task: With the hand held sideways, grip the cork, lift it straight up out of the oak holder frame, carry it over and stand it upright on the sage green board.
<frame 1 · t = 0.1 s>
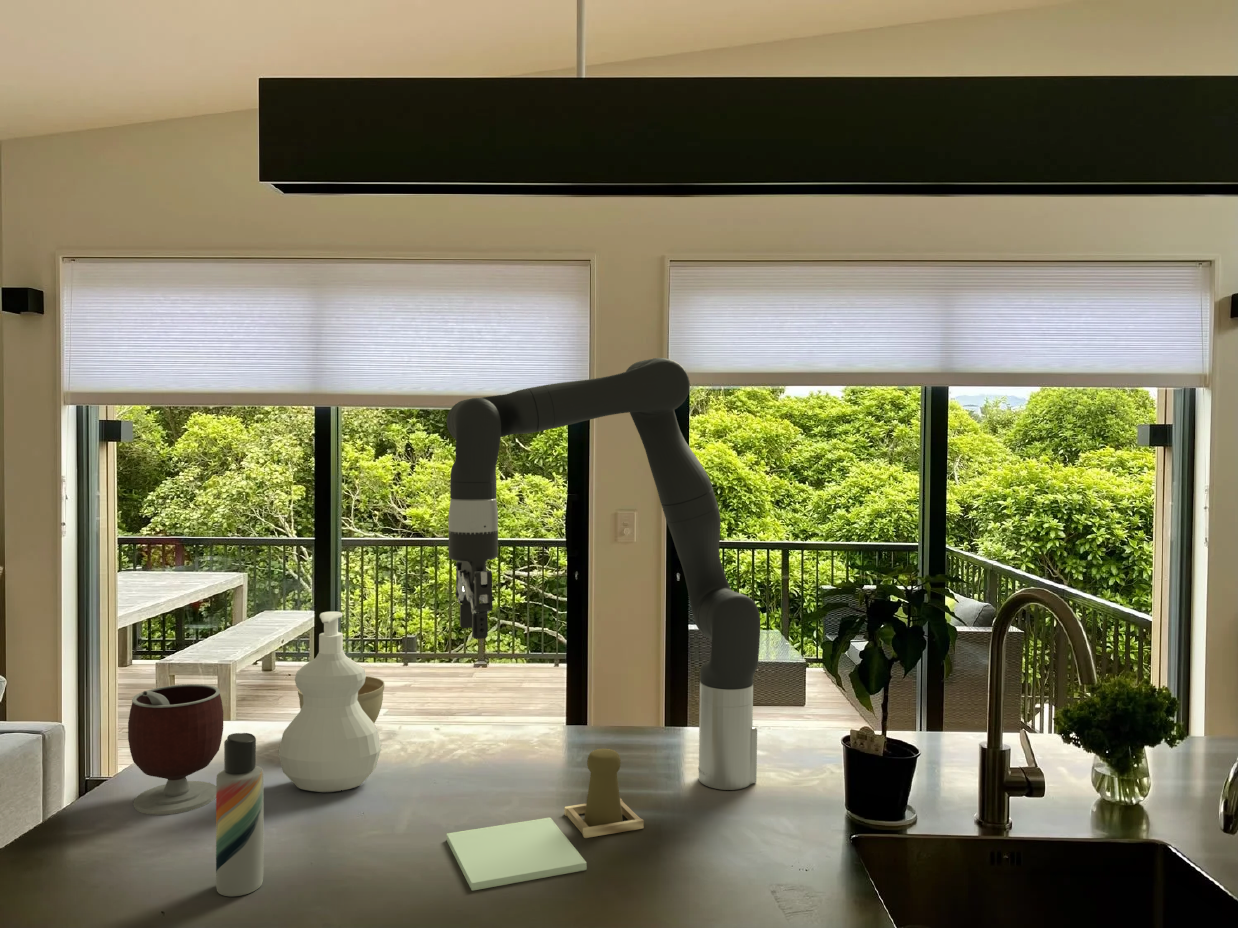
hand: (473, 632, 139), 29 cm above the kitchen counter, tool pointing down, fingers open, 8 cm apart
planter bowl: (341, 741, 176), on the kitchen counter
oak holder frame: (603, 820, 140), on the kitchen counter
sage board: (514, 854, 128), on the kitchen counter
cork: (603, 822, 140), resting in oak holder frame
lotion bottle: (239, 887, 118), on the kitchen counter
soap bottle: (330, 786, 153), on the kitchen counter
mate gourd: (173, 802, 146), on the kitchen counter
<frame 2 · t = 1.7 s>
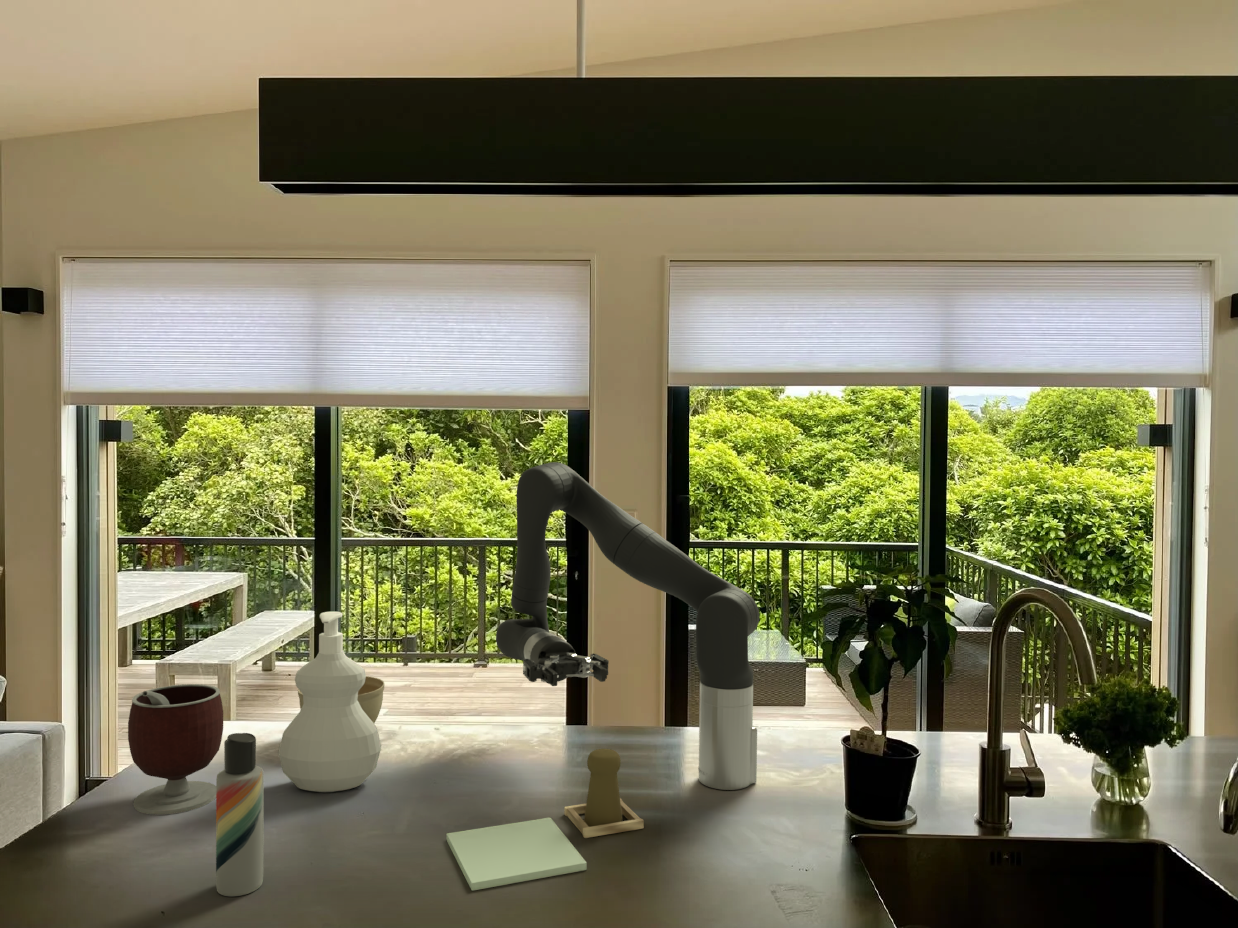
hand: (579, 677, 150), 20 cm above the kitchen counter, tool horizontal, fingers open, 8 cm apart
nothing on the kitchen counter moved.
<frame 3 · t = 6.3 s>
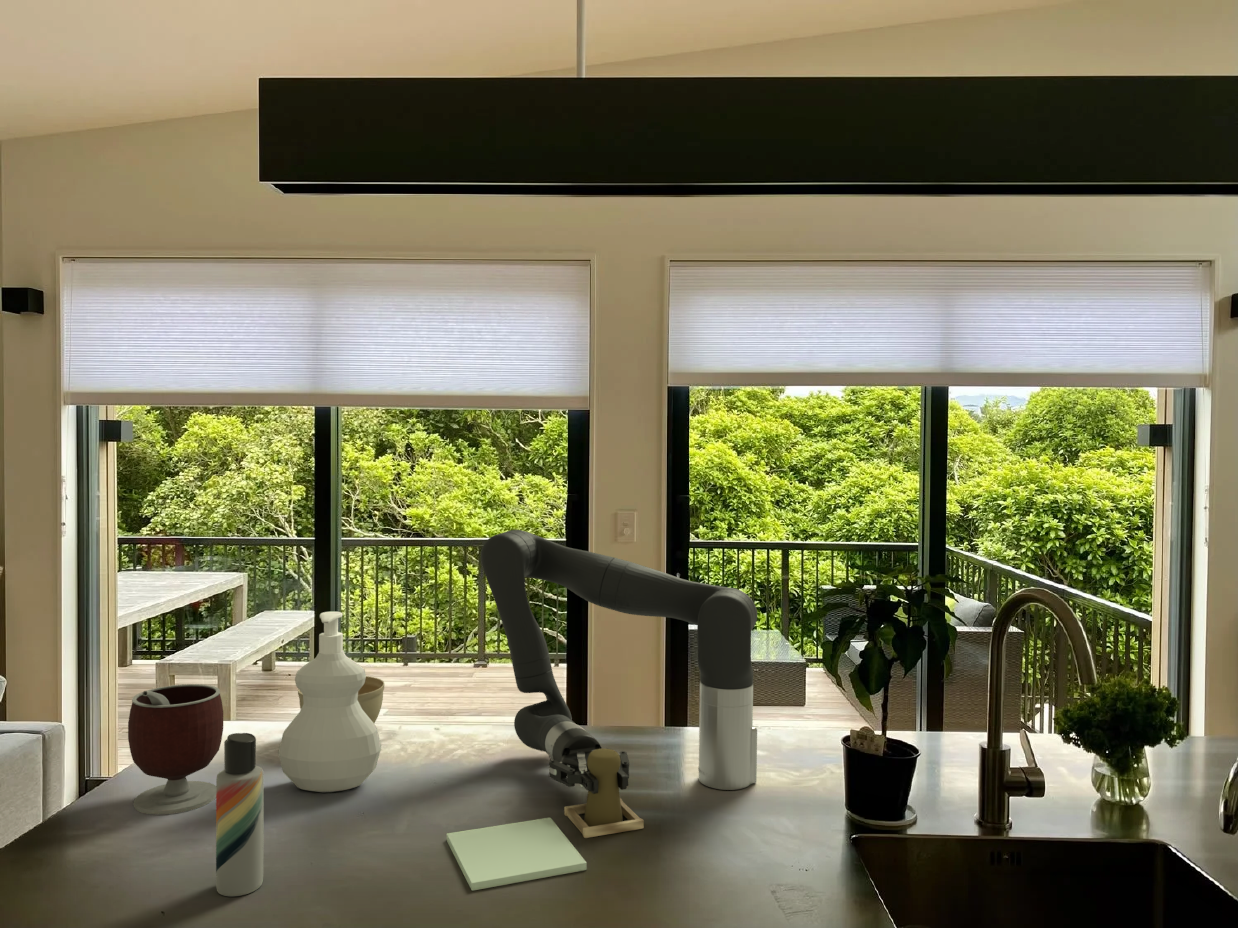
hand: (610, 784, 137), 7 cm above the kitchen counter, tool horizontal, fingers closed on cork, 4 cm apart
cork: (603, 822, 140), resting in oak holder frame, touching gripper
everything else where it was.
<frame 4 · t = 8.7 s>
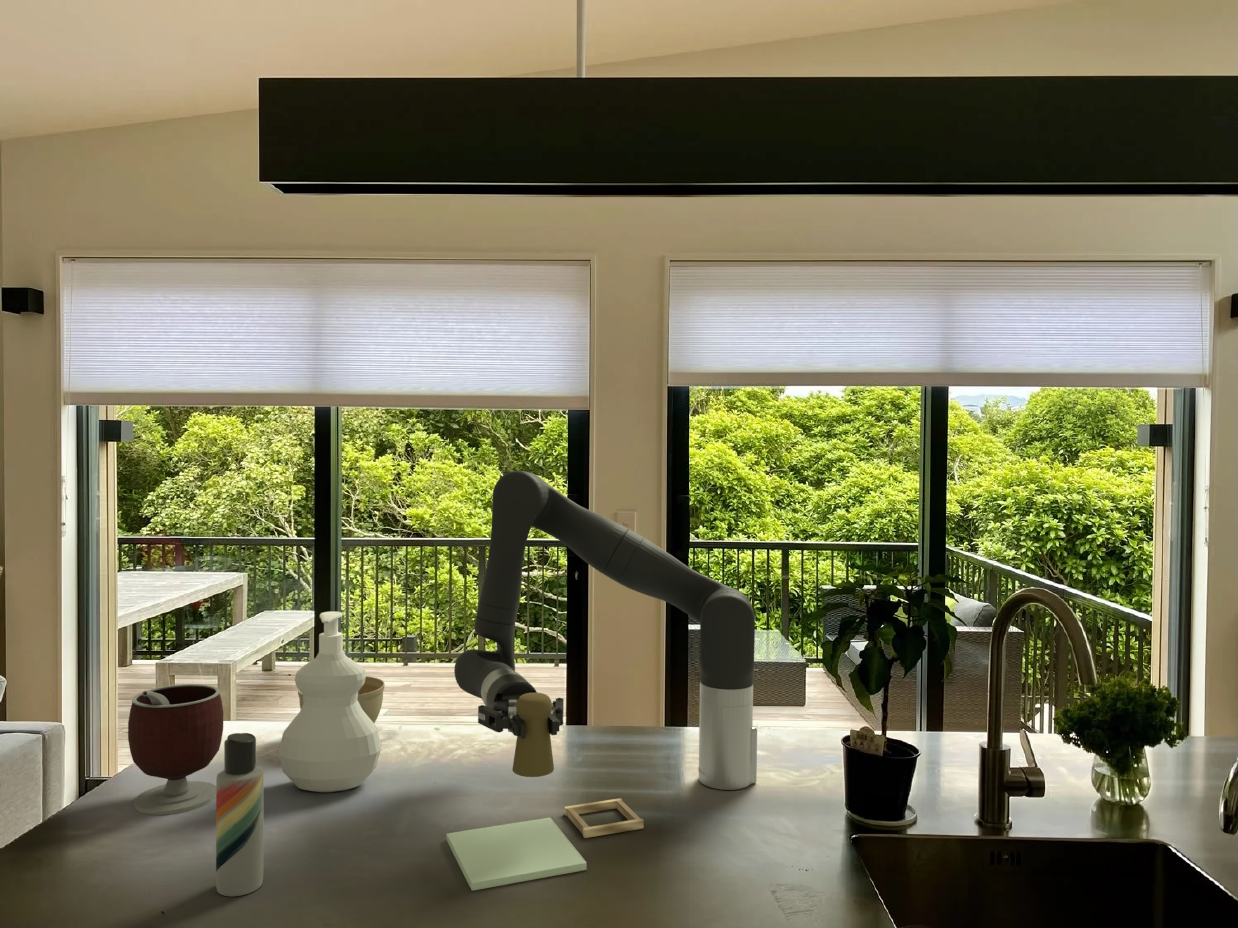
hand: (539, 729, 128), 18 cm above the kitchen counter, tool horizontal, fingers closed on cork, 4 cm apart
cork: (533, 770, 131), point 11 cm above the kitchen counter, touching gripper
everything else where it was.
when the fingers open (9 cm above the kitchen counter, at t = 11.6 s): cork moves 2 cm, resting on sage board.
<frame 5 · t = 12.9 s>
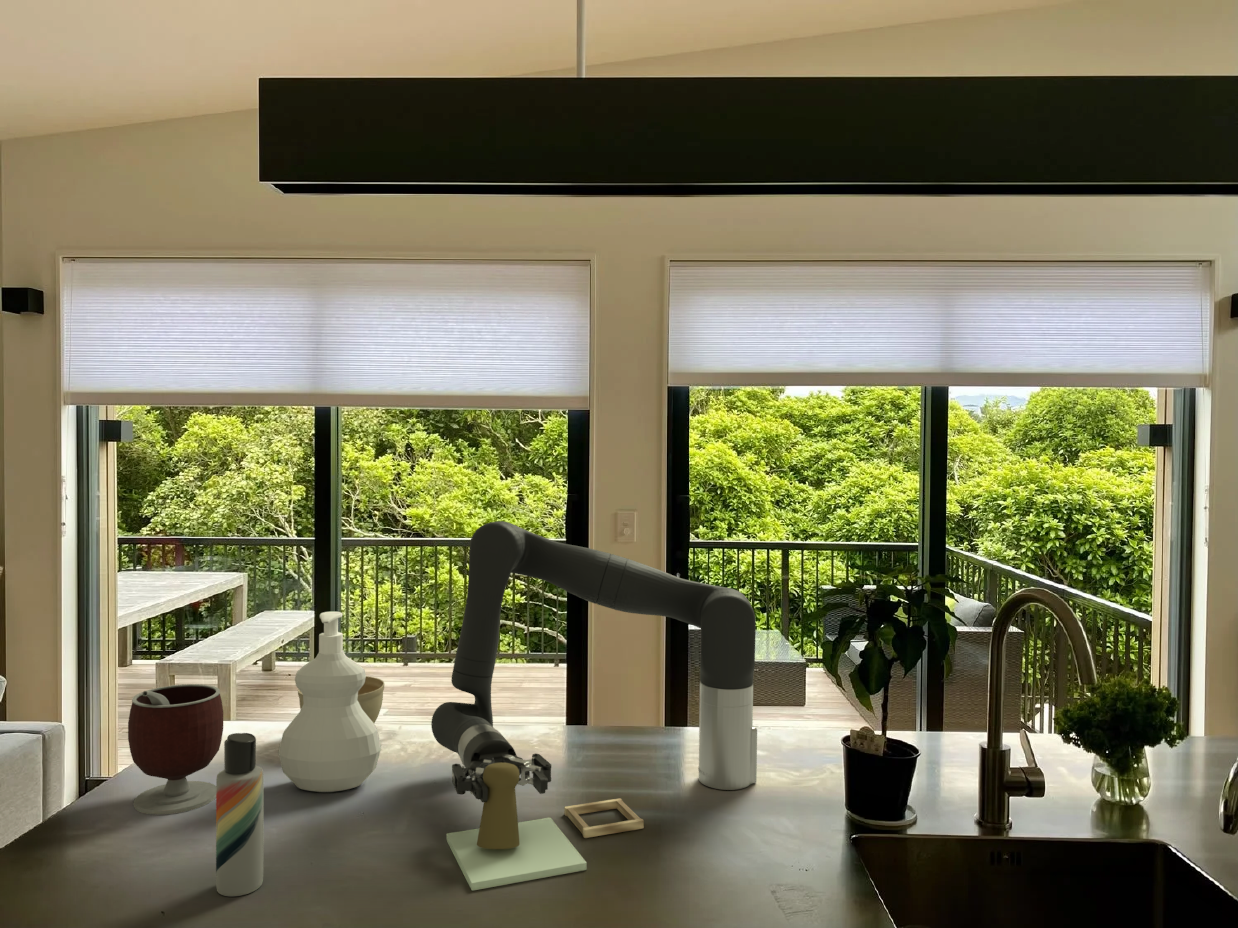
hand: (514, 790, 128), 9 cm above the kitchen counter, tool horizontal, fingers open, 8 cm apart
cork: (498, 845, 128), point 1 cm above the kitchen counter, touching gripper, sage board
everything else where it was.
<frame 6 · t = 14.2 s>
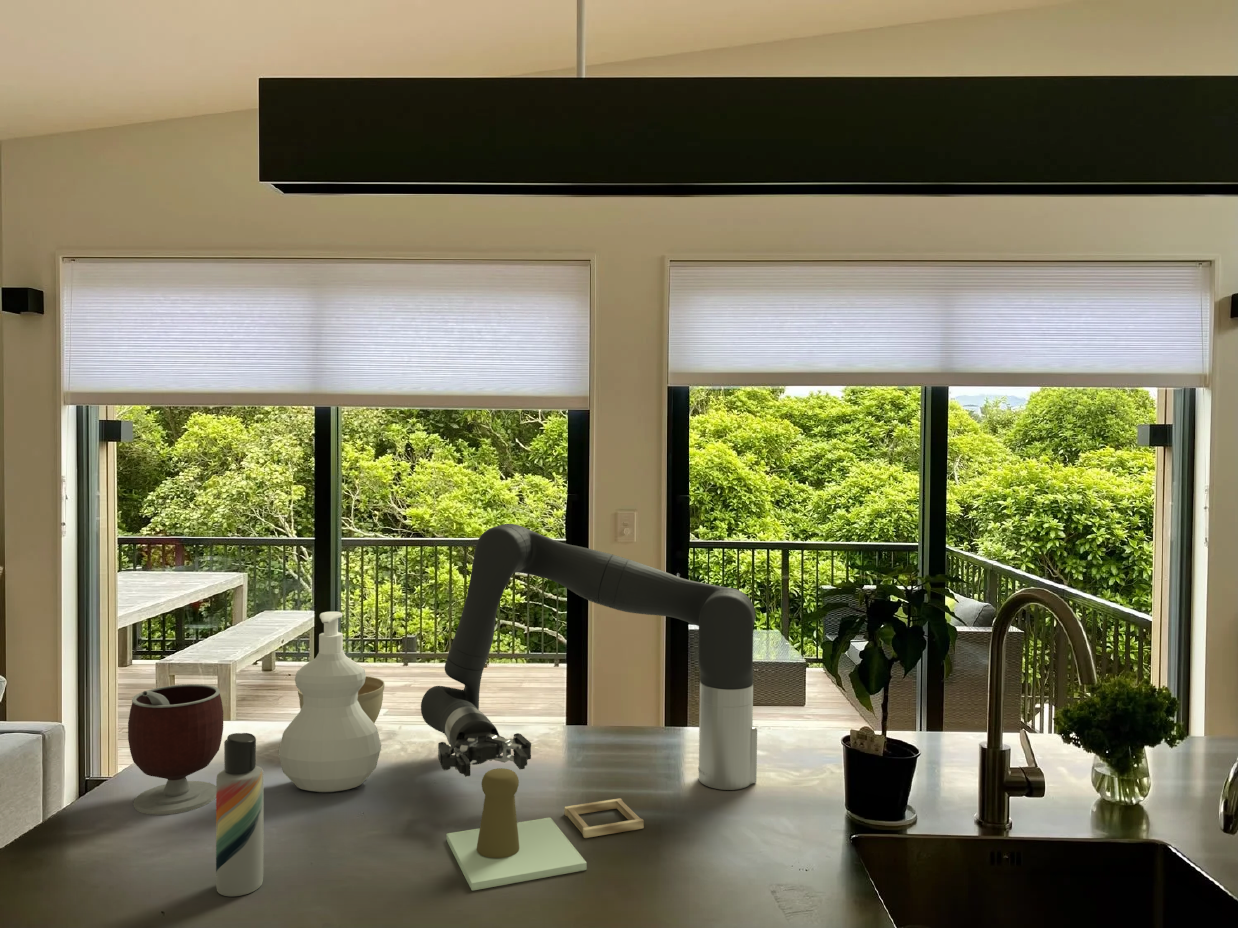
hand: (495, 766, 137), 9 cm above the kitchen counter, tool horizontal, fingers open, 8 cm apart
cork: (497, 849, 128), point 1 cm above the kitchen counter, touching sage board
everything else where it was.
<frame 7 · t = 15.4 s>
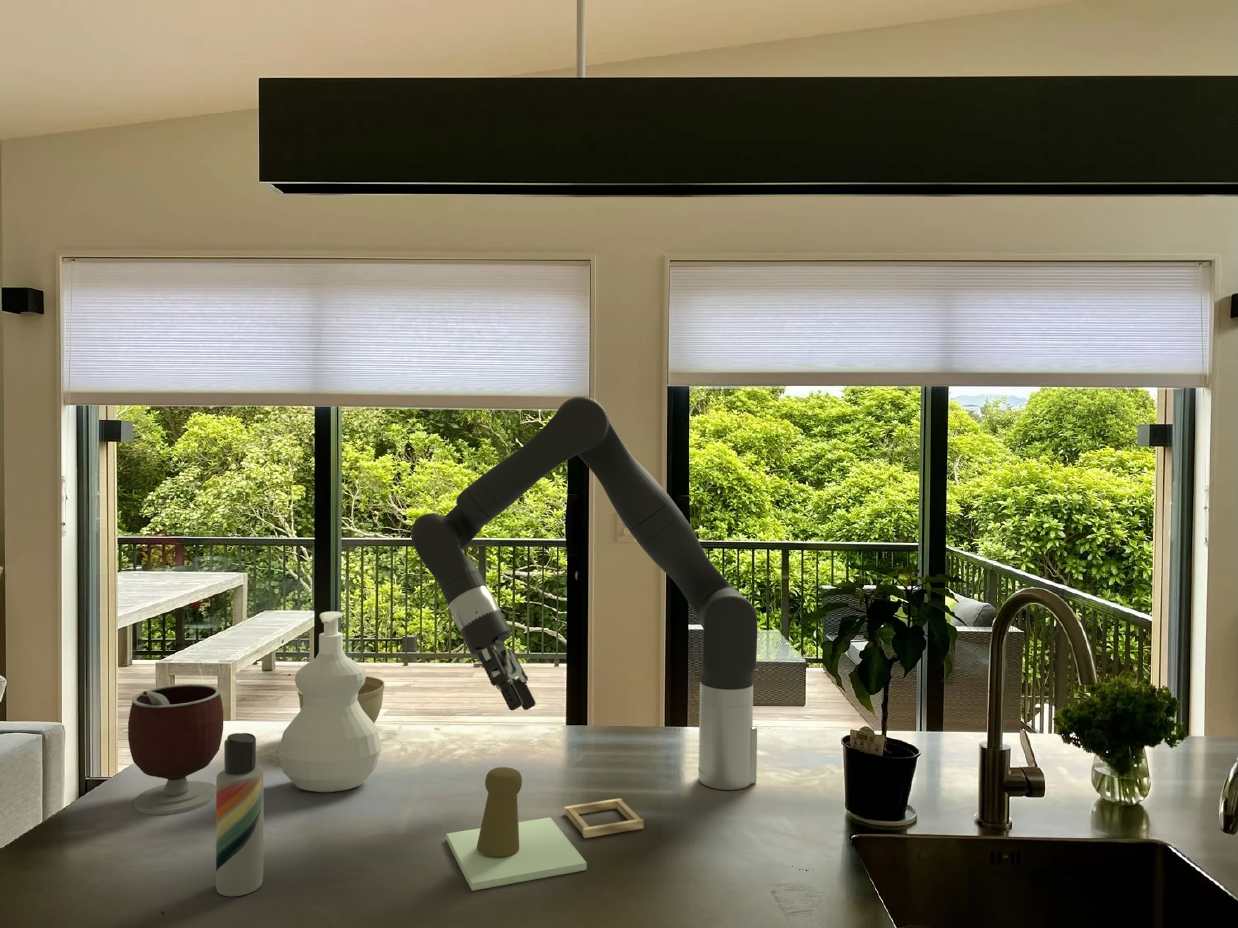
hand: (524, 707, 145), 16 cm above the kitchen counter, tool tilted 35°, fingers open, 8 cm apart
nothing on the kitchen counter moved.
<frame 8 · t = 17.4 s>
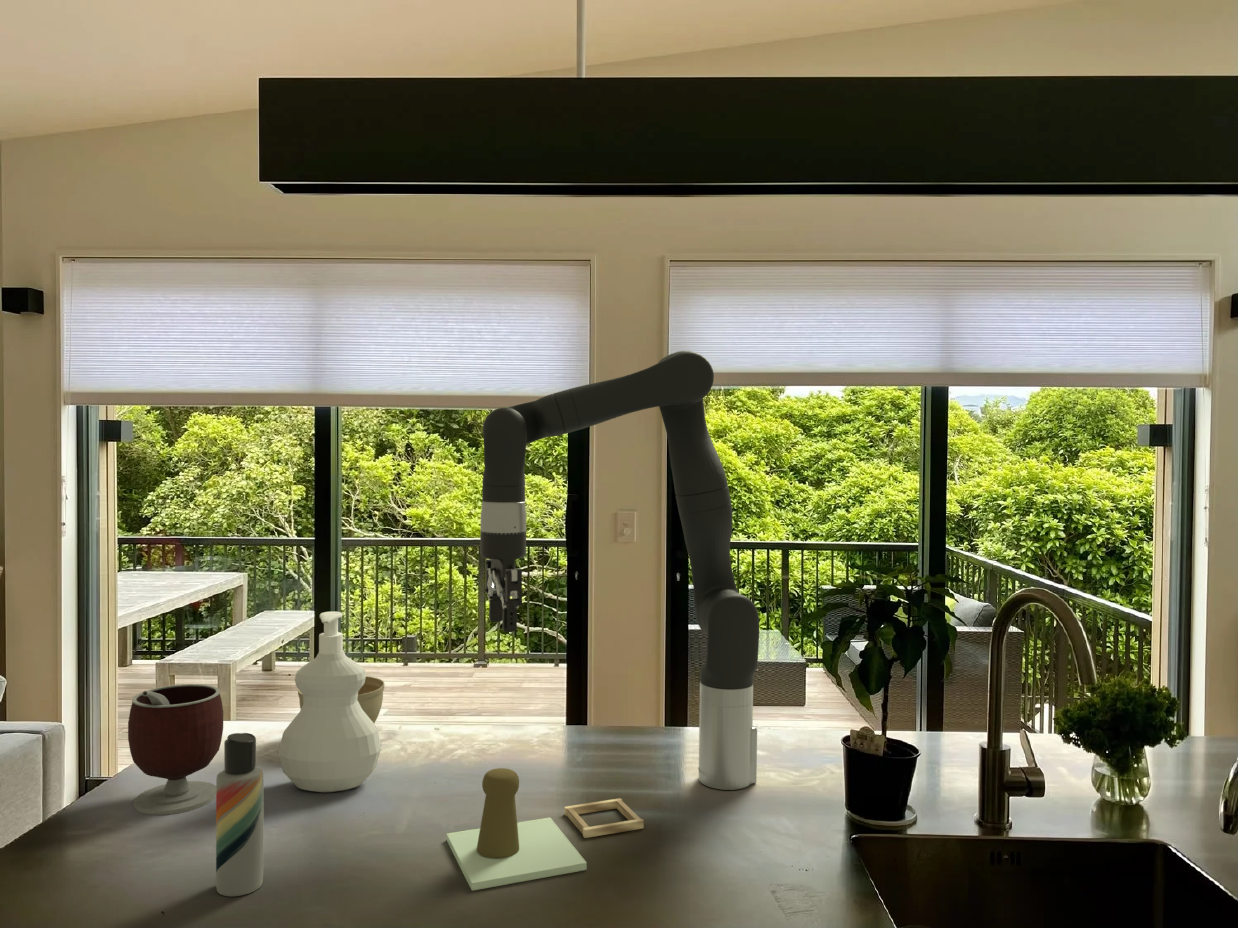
hand: (502, 626, 149), 28 cm above the kitchen counter, tool pointing down, fingers open, 8 cm apart
nothing on the kitchen counter moved.
at the end: cork inside the target area on the sage board (2.3 cm from its centre), point 0.9 cm above the sage board's base; cork tilted 2°; the gripper is holding nothing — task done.
